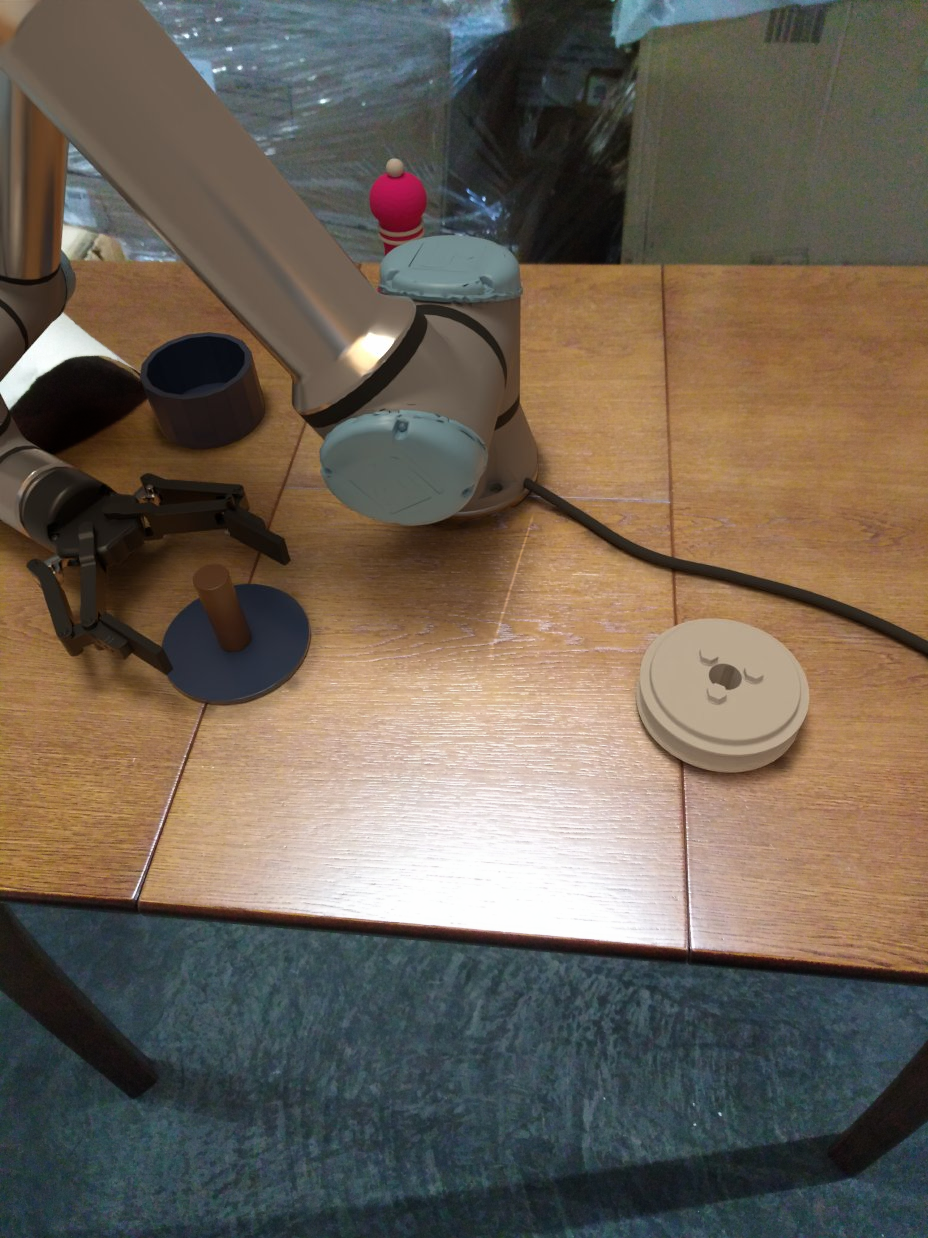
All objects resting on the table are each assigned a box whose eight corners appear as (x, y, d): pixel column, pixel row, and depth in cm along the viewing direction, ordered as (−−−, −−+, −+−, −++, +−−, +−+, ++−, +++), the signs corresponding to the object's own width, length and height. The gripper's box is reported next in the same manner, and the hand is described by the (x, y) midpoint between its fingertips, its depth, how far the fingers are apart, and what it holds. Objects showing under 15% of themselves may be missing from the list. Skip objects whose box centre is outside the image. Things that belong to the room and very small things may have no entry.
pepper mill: (371, 344, 104) (345, 170, 89) (396, 311, 109) (377, 139, 93) (427, 356, 103) (411, 179, 87) (451, 321, 107) (440, 147, 91)
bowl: (280, 389, 100) (268, 338, 95) (239, 455, 93) (223, 404, 88) (188, 377, 102) (171, 326, 97) (140, 441, 95) (120, 390, 90)
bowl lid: (332, 605, 80) (314, 532, 72) (278, 722, 72) (252, 654, 65) (203, 582, 82) (174, 509, 75) (138, 692, 74) (98, 624, 67)
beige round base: (670, 623, 77) (679, 585, 73) (818, 681, 72) (835, 644, 68) (608, 735, 70) (614, 699, 66) (767, 806, 65) (783, 772, 62)
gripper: (172, 459, 89) (335, 542, 81) (-42, 623, 77) (125, 741, 68) (148, 397, 83) (321, 479, 75) (-87, 563, 71) (88, 685, 62)
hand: (228, 604), depth 72 cm, fingers open, 13 cm apart
